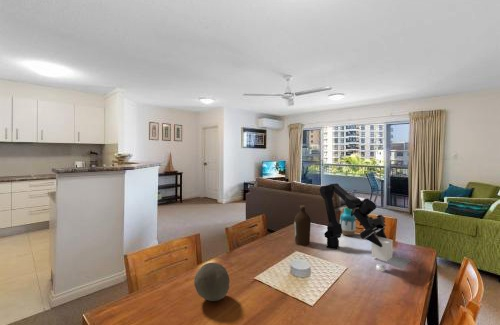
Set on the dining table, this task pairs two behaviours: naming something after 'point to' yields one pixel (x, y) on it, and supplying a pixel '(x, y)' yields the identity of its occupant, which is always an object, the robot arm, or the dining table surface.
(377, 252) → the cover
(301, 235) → the olive oil
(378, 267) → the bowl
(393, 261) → the grey square tile
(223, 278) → the dark grey ball
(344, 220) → the vase
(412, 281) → the dining table surface
